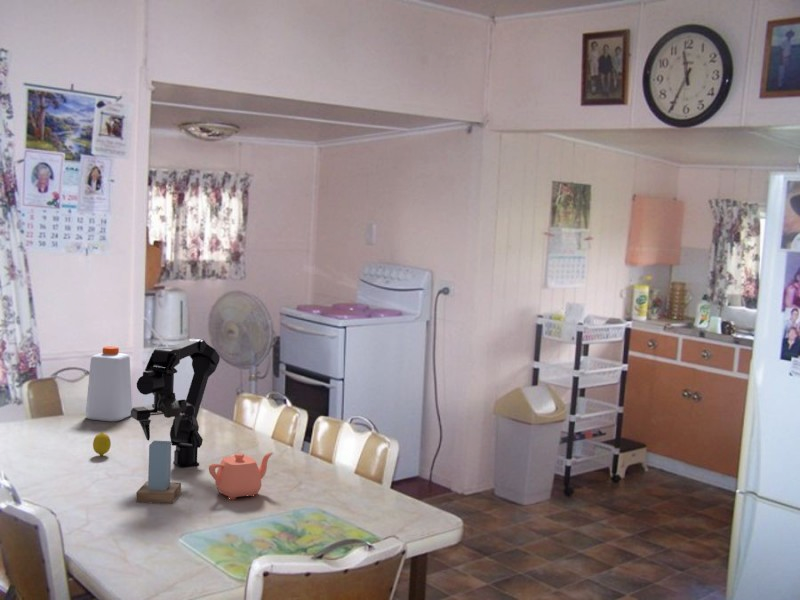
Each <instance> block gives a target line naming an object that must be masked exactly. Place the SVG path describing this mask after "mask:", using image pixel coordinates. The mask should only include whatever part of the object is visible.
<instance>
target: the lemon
mask: <svg viewBox="0 0 800 600" xmlns="http://www.w3.org/2000/svg"><path fill="white" fill-rule="evenodd" d="M111 444H112V443H111V438H110V436H109V435H108V434H106V433H104V432H100V433H98V434H96V435H95V437H94V438H93V442H92V447H93V450H94V452H95V453H96V454H98V455H99V456H100V457H102V456H104V455H105V454H107V453H108V452H109V451H110V449H111Z"/></svg>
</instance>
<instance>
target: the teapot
mask: <svg viewBox="0 0 800 600" xmlns="http://www.w3.org/2000/svg"><path fill="white" fill-rule="evenodd" d="M273 454H274V452H269V453H266V454H265V455H264V456H263V458H262V460H261V464H260V466H258V463H257V462H256V460H255V458H253V457H252V456H249V455H245V453H242V452H240V453H239V452H238V453H234V455H229V456H225V457H223V458H222V459H221V461H220V463H211V464H210V465H209V466H208V472H209V474H210V475H211V477H212V478H213V480H215V481H214V482H215V487H216V489H217V490H218V492H220V494H222V495H224V496H225V497H227V499H228V498H230V499H235V498H236V499H237V497H238V498H239V497H247V495H248V496H253V495H257V494H258V493H259V492H260V490H261V488H262V479H263V478H264V477H265V476H266V473H267V468H268V467H267V466H268V461H269V459H270V457H271V456H272V455H273ZM216 469H217V470H216ZM236 499H235V500H236Z"/></svg>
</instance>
